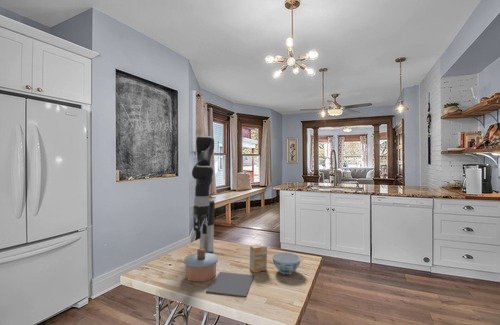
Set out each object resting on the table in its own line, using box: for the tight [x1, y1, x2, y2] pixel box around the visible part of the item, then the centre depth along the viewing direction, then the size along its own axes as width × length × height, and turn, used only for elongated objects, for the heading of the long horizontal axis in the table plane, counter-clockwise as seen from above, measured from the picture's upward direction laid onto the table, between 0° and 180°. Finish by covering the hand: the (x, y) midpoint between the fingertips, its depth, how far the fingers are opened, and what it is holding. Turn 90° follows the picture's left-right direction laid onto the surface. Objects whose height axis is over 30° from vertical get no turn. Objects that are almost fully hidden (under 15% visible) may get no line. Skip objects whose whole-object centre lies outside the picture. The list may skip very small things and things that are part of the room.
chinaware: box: [272, 251, 302, 275], centre depth 129 cm, size 15×15×8 cm
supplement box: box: [249, 243, 268, 273], centre depth 131 cm, size 8×5×13 cm, turn 118°
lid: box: [183, 248, 219, 268], centre depth 124 cm, size 17×17×6 cm
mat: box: [206, 271, 255, 298], centre depth 115 cm, size 20×18×1 cm
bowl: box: [185, 263, 217, 283], centre depth 124 cm, size 15×15×7 cm
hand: (201, 236), depth 124 cm, fingers open, 8 cm apart
